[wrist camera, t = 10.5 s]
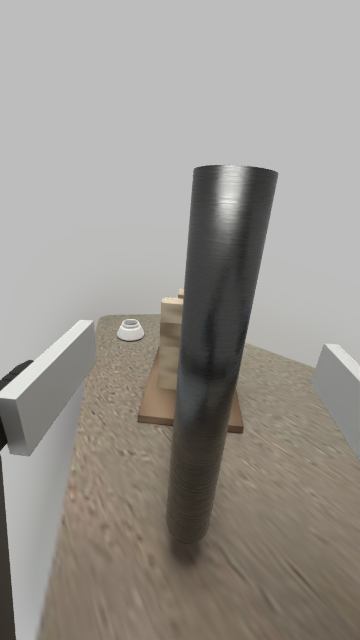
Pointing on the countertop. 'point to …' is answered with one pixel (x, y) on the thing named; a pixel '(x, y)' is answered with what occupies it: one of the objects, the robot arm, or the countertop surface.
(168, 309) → the bearing stand
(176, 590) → the countertop surface
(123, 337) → the lidless jar
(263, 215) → the crank handle
